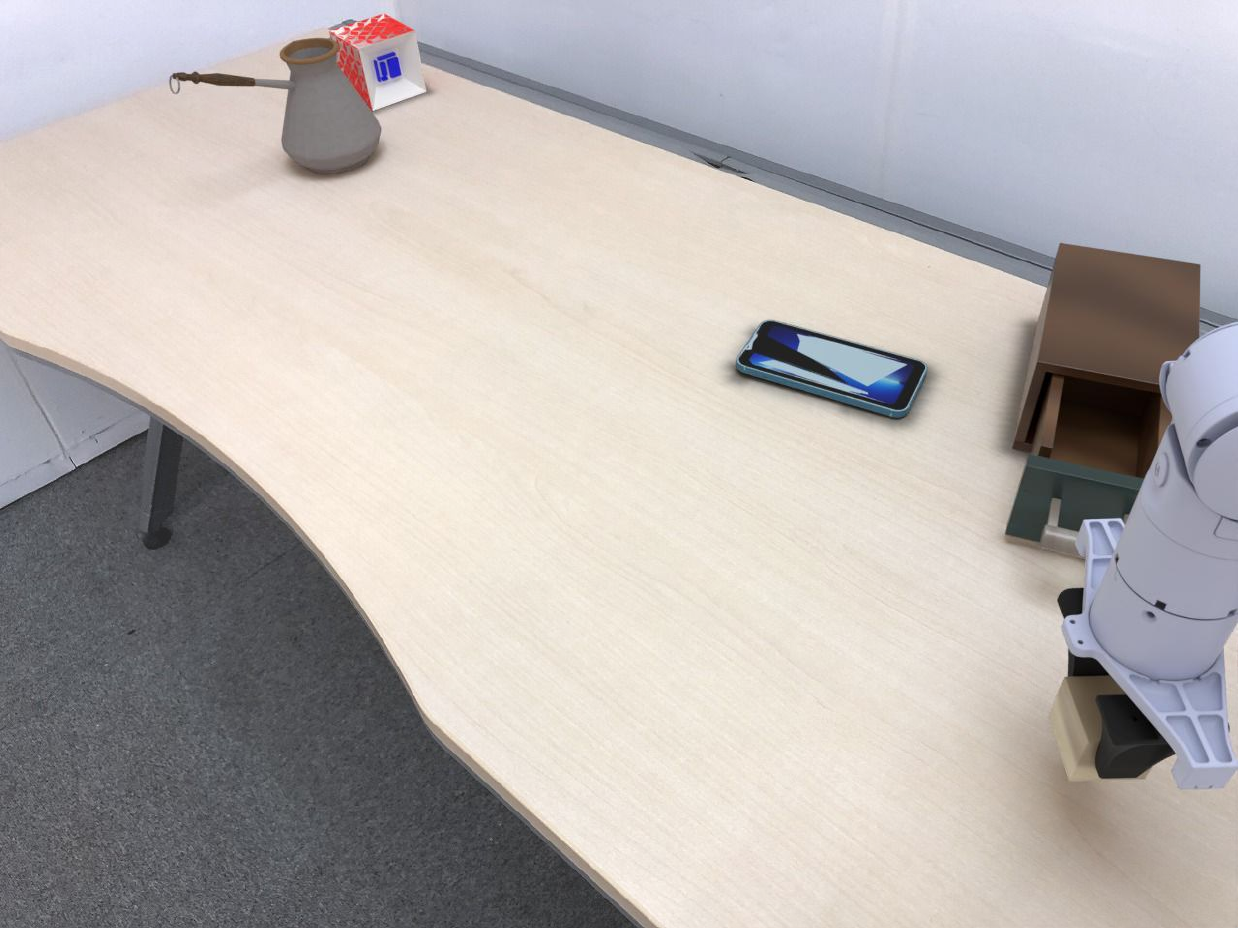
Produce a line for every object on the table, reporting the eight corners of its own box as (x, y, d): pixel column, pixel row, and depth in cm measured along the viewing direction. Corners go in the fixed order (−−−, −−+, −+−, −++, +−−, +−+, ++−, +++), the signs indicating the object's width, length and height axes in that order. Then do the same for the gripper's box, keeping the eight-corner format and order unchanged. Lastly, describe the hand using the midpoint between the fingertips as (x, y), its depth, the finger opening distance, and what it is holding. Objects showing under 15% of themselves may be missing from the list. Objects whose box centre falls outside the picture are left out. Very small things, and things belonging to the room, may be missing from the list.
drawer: (1146, 617, 67) (1180, 547, 62) (995, 579, 69) (1017, 510, 65) (1157, 424, 80) (1186, 355, 75) (1030, 399, 82) (1050, 330, 78)
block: (1119, 714, 58) (1140, 673, 55) (1145, 780, 55) (1168, 740, 52) (1047, 716, 58) (1064, 675, 55) (1069, 782, 55) (1088, 742, 52)
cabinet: (1159, 480, 76) (1198, 391, 71) (1011, 448, 80) (1036, 361, 74) (1166, 350, 87) (1200, 264, 81) (1036, 327, 91) (1059, 242, 85)
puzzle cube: (396, 74, 137) (384, 13, 132) (426, 92, 133) (415, 30, 127) (343, 92, 134) (328, 31, 129) (372, 111, 129) (357, 49, 124)
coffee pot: (354, 126, 127) (323, 1, 116) (405, 156, 120) (377, 27, 110) (193, 190, 117) (143, 60, 107) (238, 226, 111) (190, 92, 100)
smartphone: (905, 415, 82) (732, 363, 87) (903, 423, 83) (731, 372, 88) (930, 362, 87) (764, 316, 92) (928, 371, 87) (764, 325, 92)
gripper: (1044, 461, 51) (991, 626, 61) (1151, 712, 41) (1068, 865, 50) (1188, 455, 51) (1113, 622, 60) (1334, 707, 41) (1215, 862, 50)
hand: (1101, 733), depth 55 cm, fingers closed on block, 4 cm apart
